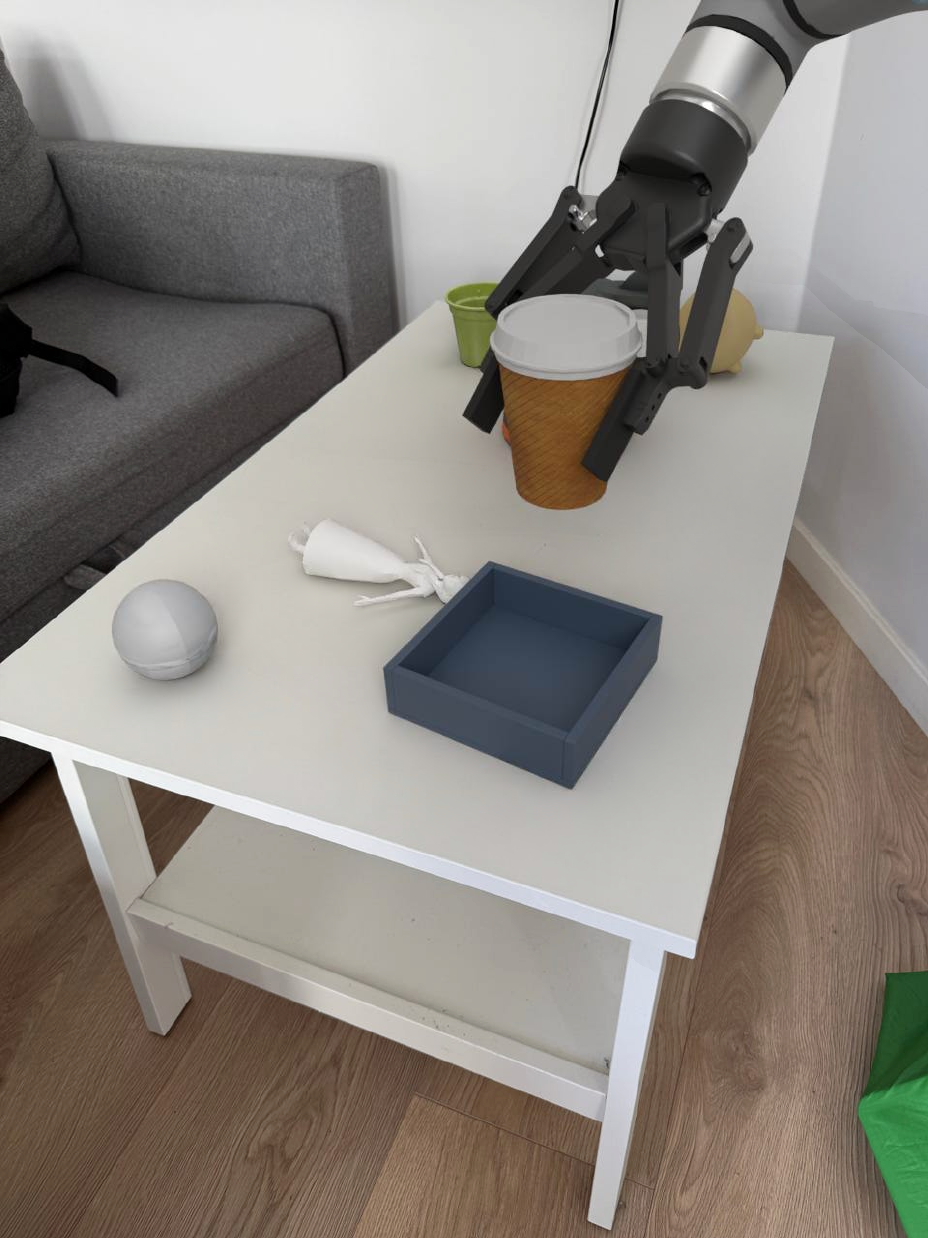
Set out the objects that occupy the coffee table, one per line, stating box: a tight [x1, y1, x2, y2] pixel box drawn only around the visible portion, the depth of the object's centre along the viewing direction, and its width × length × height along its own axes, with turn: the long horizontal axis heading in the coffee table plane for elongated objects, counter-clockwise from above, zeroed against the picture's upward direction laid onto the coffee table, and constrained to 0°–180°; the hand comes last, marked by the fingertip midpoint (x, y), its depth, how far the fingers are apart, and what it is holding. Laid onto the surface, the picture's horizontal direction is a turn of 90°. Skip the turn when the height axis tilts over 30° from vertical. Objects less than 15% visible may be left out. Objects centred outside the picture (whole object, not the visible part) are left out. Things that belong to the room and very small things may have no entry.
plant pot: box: [444, 281, 500, 368], centre depth 119 cm, size 9×9×9 cm
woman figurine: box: [288, 518, 471, 608], centre depth 82 cm, size 12×4×18 cm
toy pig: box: [679, 287, 765, 374], centre depth 114 cm, size 10×12×11 cm
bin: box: [382, 560, 664, 790], centre depth 70 cm, size 16×16×5 cm
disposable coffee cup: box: [490, 294, 644, 511], centre depth 60 cm, size 10×10×12 cm
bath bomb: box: [111, 578, 219, 681], centre depth 73 cm, size 8×8×8 cm
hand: (532, 447), depth 59 cm, fingers closed on disposable coffee cup, 9 cm apart
